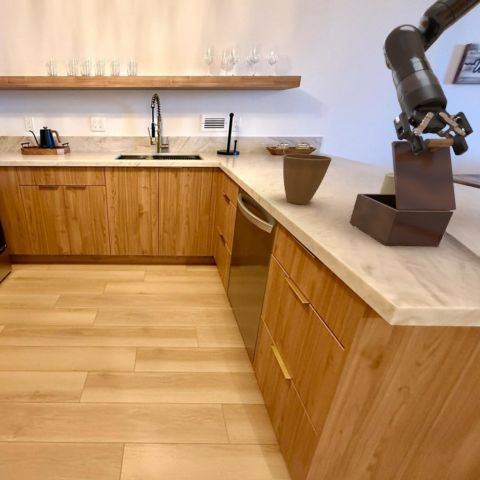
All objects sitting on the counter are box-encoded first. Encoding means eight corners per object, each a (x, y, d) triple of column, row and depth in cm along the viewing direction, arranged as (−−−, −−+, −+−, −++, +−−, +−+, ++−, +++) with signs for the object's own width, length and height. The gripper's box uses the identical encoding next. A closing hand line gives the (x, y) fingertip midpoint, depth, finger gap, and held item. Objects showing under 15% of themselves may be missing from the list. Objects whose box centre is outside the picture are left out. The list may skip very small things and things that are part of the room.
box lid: (391, 142, 68) (410, 131, 63) (446, 142, 68) (470, 130, 62) (396, 209, 66) (417, 204, 61) (452, 210, 66) (478, 204, 60)
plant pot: (323, 209, 95) (335, 160, 88) (276, 205, 100) (284, 158, 93) (318, 198, 108) (328, 154, 101) (276, 194, 112) (283, 152, 106)
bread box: (349, 222, 84) (357, 193, 80) (393, 223, 83) (403, 193, 80) (385, 245, 70) (397, 211, 66) (438, 246, 69) (453, 211, 66)
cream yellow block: (374, 204, 100) (385, 169, 95) (407, 209, 95) (421, 173, 90) (373, 211, 93) (385, 174, 88) (409, 217, 88) (424, 178, 83)
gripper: (400, 83, 65) (421, 141, 59) (466, 82, 64) (494, 141, 58) (378, 109, 72) (395, 163, 66) (437, 108, 71) (459, 163, 65)
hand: (441, 153), depth 62 cm, fingers open, 8 cm apart
